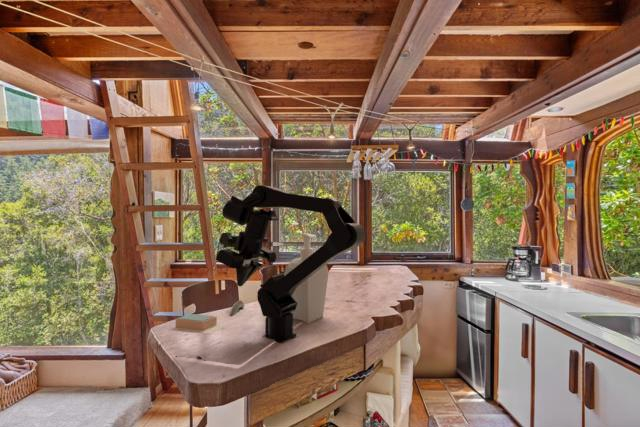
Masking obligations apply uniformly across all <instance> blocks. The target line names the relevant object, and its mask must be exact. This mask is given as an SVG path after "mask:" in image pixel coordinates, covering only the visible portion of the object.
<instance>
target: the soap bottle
mask: <svg viewBox="0 0 640 427" xmlns="http://www.w3.org/2000/svg"><path fill="white" fill-rule="evenodd" d="M299 236H303V247H301V248H299V249H300V255H299V256H300V257H299V258H293V259H292V260H291V261H290V262H289V263H288V265H287V266H286V267H285V270H284V273H283V274H284V276H285V275H286V274H288V273H289V272H290V271H291V270H293V269H294V268H295V267H297V266H298V265H299V264H300V263H302V262H303V261H304V260H305V259H307V258H308V257H309V256H310V255H312V254H313V253H314V252H315V249H314V248H312V247H311V239H317V236H316V235H314V234H312V233H307V232H306V233H304V232H303V233H295V234H292V235H291V236H289V237H290V239H294V238H295V237H299ZM328 279H329V268H328V265H327V264H326V265H325V266H324V267H322V268H321V269H320V270H318V271H317V272H316V273H314V274H313V275H312V276H311V277H309V278H308V279H307V280H305V281H304V282H303V283H301V284H300V285H299V286H298V287H297V288H296V289H295V291H294V293H293V294H292V297H293V298H294V300H295V301H296V302H297V307H296V310H295V311H292V312H291V313H293V320H301V321H300V322H301V323H306V324H310V323H312V322H313V321H316V320H319V319H321V318H323V317H324V312H325V311H324V310H325V302H326V294H327V288H328V287H327V286H328Z"/></svg>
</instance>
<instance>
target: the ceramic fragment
mask: <svg viewBox="0 0 640 427" xmlns="http://www.w3.org/2000/svg"><path fill="white" fill-rule="evenodd" d="M244 307H245V304H244V302H243V301H242V300H237V301H236V302H234V304H233V306H232V307H230V308H229V309H227V310H224V312H225V313H226V314H228V315H229V316H230V317H234V316H235V315H236V313H237V312H238V311H239V310H240V309H241V308H244Z"/></svg>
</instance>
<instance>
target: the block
mask: <svg viewBox="0 0 640 427" xmlns="http://www.w3.org/2000/svg"><path fill="white" fill-rule="evenodd" d="M217 319H218V318H217V316H215V315H206V314H196V313H189V314H186V315H183V316H180V317H178V318H175V328H176V327H178V328H186V329H195V330H203V331H204V330H206V329H208V328H210V327H212V326H214V325H217V323H218V320H217Z"/></svg>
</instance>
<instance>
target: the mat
mask: <svg viewBox="0 0 640 427" xmlns="http://www.w3.org/2000/svg"><path fill="white" fill-rule="evenodd" d="M229 325H230V323H225V322H223V323H222V322H217V325H214V326H212V327H210V328H208V329H206V330H204V331H203V330H195V329H186V328H178V327H176V326H175V327H174V328H172V330H176V331H184V332H185V331H186V332H194V333H199V334H200V333H201V334H213V333H215V332H217V331H218V330H221V329H223V328H225V327H227V326H229Z"/></svg>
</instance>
